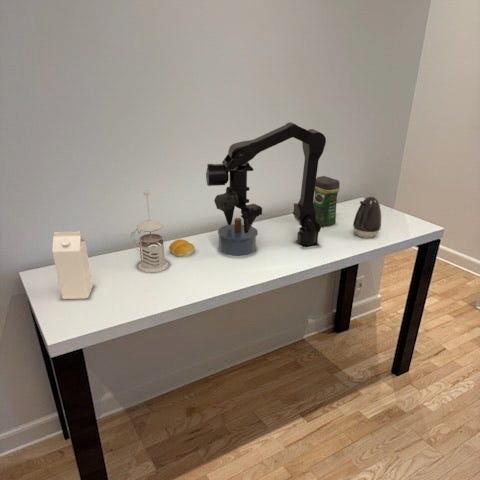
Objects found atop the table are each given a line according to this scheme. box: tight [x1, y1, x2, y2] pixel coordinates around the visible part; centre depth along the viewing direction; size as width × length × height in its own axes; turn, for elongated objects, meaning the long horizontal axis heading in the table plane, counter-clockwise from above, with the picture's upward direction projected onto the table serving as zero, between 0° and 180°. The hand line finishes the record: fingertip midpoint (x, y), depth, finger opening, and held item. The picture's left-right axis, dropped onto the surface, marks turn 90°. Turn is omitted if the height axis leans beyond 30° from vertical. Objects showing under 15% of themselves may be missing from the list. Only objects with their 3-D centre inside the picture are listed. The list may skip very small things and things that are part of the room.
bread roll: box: [168, 238, 196, 258], centre depth 154 cm, size 8×9×4 cm
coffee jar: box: [313, 175, 341, 227], centre depth 177 cm, size 10×8×19 cm
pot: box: [218, 235, 257, 257], centre depth 156 cm, size 13×13×6 cm
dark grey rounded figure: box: [352, 196, 382, 239], centre depth 167 cm, size 10×10×15 cm
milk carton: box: [51, 231, 94, 300], centre depth 125 cm, size 7×7×19 cm
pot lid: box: [217, 217, 259, 241], centre depth 153 cm, size 14×14×6 cm
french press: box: [130, 190, 169, 273], centre depth 140 cm, size 10×12×25 cm
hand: (237, 228), depth 153 cm, fingers open, 9 cm apart
